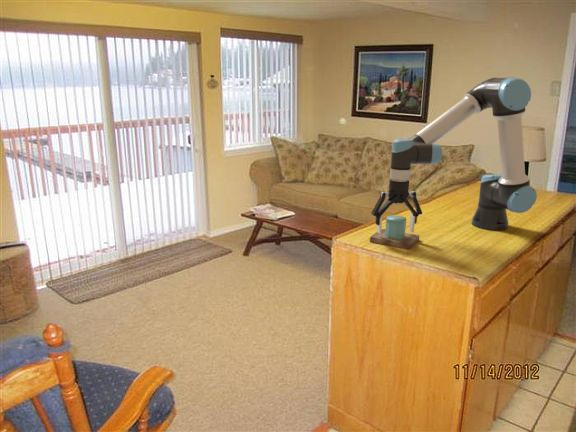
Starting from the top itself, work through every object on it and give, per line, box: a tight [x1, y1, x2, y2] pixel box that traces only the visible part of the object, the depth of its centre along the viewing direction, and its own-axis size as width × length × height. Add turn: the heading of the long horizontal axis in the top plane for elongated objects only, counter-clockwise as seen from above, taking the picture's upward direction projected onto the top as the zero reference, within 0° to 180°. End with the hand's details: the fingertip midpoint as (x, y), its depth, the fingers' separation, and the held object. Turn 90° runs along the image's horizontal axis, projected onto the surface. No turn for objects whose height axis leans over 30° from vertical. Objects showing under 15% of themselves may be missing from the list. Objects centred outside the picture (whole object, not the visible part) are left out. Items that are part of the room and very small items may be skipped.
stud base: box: [369, 228, 420, 250], centre depth 192 cm, size 16×13×8 cm
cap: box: [384, 214, 407, 239], centre depth 192 cm, size 8×8×8 cm
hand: (395, 232), depth 192 cm, fingers open, 13 cm apart
